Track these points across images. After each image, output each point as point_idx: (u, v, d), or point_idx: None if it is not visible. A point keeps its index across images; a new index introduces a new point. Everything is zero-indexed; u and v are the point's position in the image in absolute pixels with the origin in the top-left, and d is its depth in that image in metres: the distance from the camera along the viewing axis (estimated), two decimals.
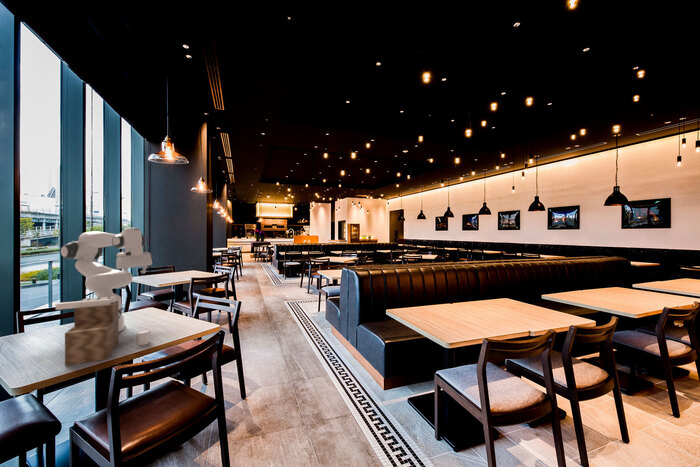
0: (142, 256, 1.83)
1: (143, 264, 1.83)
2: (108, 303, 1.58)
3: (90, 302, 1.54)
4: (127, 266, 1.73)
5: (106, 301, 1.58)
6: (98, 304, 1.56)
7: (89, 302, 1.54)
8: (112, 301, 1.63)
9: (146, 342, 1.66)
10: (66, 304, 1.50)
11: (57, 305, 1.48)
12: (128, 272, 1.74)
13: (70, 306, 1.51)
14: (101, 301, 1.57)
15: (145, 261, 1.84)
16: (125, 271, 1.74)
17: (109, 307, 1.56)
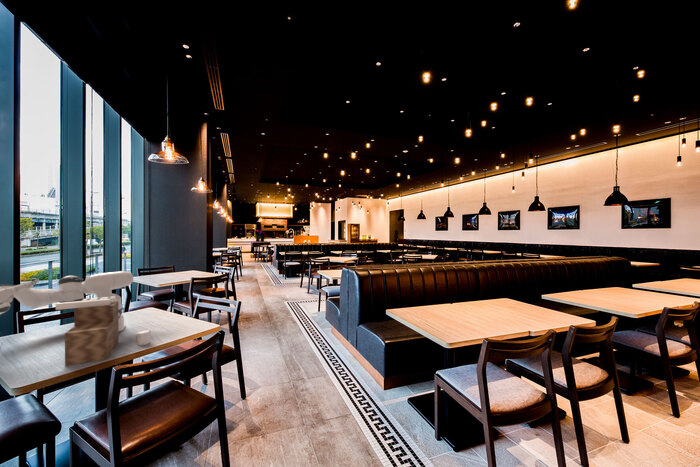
0: None
1: None
2: (108, 303, 1.58)
3: (90, 302, 1.54)
4: (11, 287, 1.45)
5: (106, 301, 1.58)
6: (98, 304, 1.56)
7: (89, 302, 1.54)
8: (112, 301, 1.63)
9: (146, 342, 1.66)
10: (66, 304, 1.50)
11: (57, 305, 1.48)
12: (22, 284, 1.48)
13: (70, 306, 1.51)
14: (101, 301, 1.57)
15: None
16: (21, 287, 1.47)
17: (109, 307, 1.56)
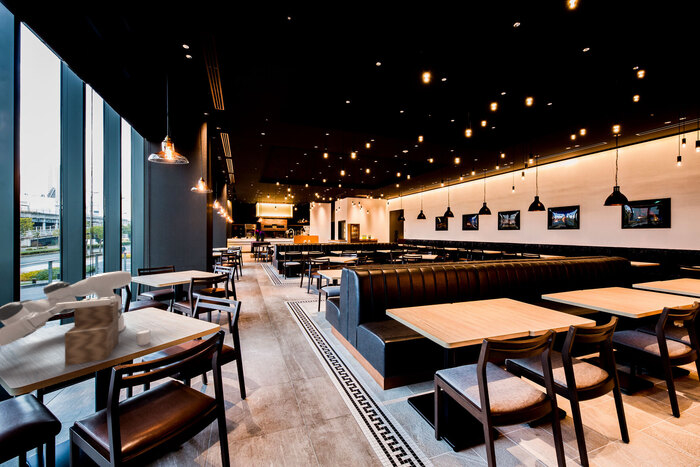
0: (42, 312, 1.49)
1: (54, 306, 1.52)
2: (108, 303, 1.58)
3: (90, 302, 1.54)
4: (46, 311, 1.43)
5: (106, 301, 1.58)
6: (98, 304, 1.56)
7: (89, 302, 1.54)
8: (112, 301, 1.63)
9: (146, 342, 1.66)
10: (66, 304, 1.50)
11: (57, 305, 1.48)
12: (59, 306, 1.48)
13: (70, 306, 1.51)
14: (101, 301, 1.57)
15: None
16: (57, 309, 1.47)
17: (109, 307, 1.56)
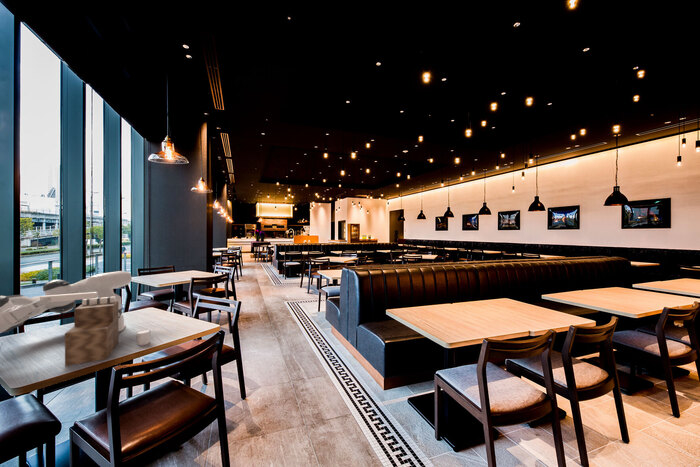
0: None
1: None
2: (94, 296, 1.55)
3: (76, 295, 1.51)
4: (29, 304, 1.40)
5: (92, 294, 1.54)
6: (83, 297, 1.53)
7: (75, 295, 1.51)
8: (112, 301, 1.63)
9: (146, 342, 1.66)
10: (51, 297, 1.47)
11: (41, 298, 1.45)
12: (43, 299, 1.44)
13: (55, 299, 1.47)
14: (87, 294, 1.53)
15: None
16: (41, 302, 1.43)
17: (109, 307, 1.56)
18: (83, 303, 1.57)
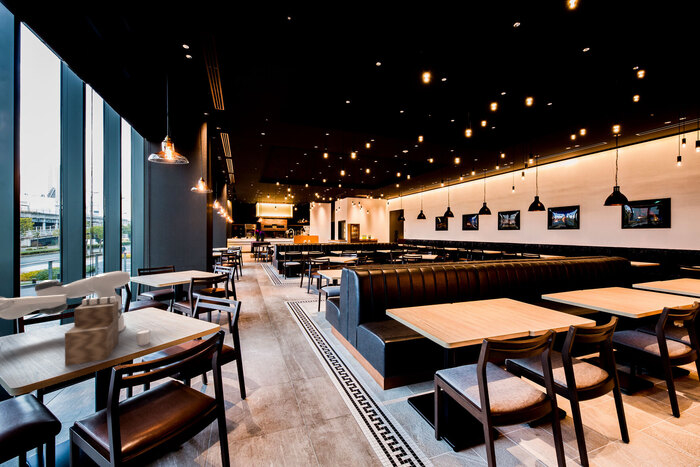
0: None
1: None
2: (62, 299, 1.47)
3: (42, 298, 1.43)
4: None
5: (60, 297, 1.46)
6: (50, 300, 1.45)
7: (41, 298, 1.43)
8: (112, 301, 1.63)
9: (146, 342, 1.66)
10: (14, 300, 1.39)
11: (4, 301, 1.37)
12: (6, 302, 1.37)
13: (20, 302, 1.40)
14: (54, 297, 1.45)
15: None
16: (4, 305, 1.36)
17: (109, 307, 1.56)
18: (83, 303, 1.57)
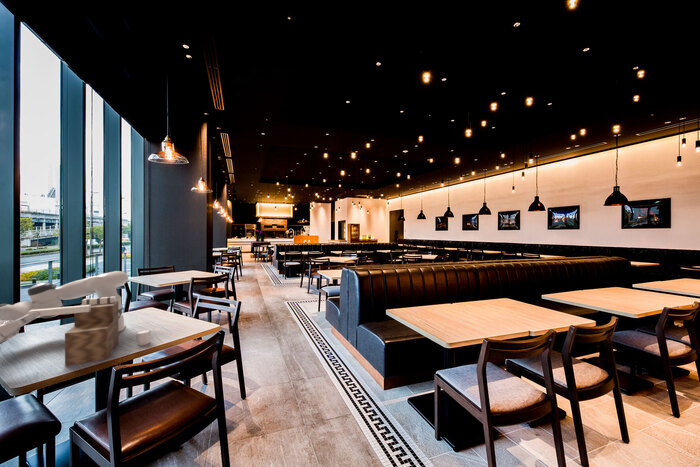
0: (14, 320, 1.37)
1: None
2: (87, 310, 1.46)
3: (67, 309, 1.42)
4: (17, 319, 1.31)
5: (85, 308, 1.45)
6: (75, 311, 1.44)
7: (66, 309, 1.42)
8: (112, 301, 1.63)
9: (146, 342, 1.66)
10: (40, 311, 1.38)
11: (30, 312, 1.36)
12: (32, 314, 1.35)
13: (45, 313, 1.38)
14: (79, 308, 1.44)
15: None
16: (30, 317, 1.34)
17: (109, 307, 1.56)
18: (83, 303, 1.57)
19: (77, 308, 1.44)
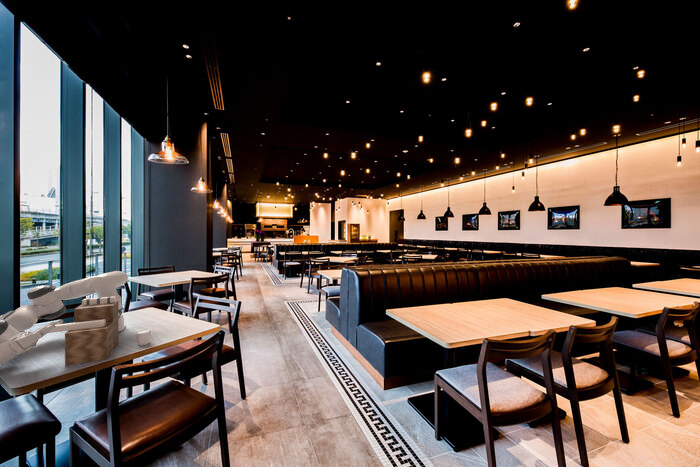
0: (33, 332, 1.41)
1: (45, 325, 1.43)
2: (102, 324, 1.49)
3: (83, 324, 1.46)
4: (36, 331, 1.34)
5: (100, 322, 1.49)
6: (91, 325, 1.47)
7: (82, 324, 1.45)
8: (112, 301, 1.63)
9: (146, 342, 1.66)
10: (57, 327, 1.41)
11: None
12: (48, 327, 1.37)
13: (62, 329, 1.42)
14: (95, 322, 1.48)
15: None
16: (46, 330, 1.36)
17: (109, 307, 1.56)
18: (83, 303, 1.57)
19: (93, 323, 1.47)
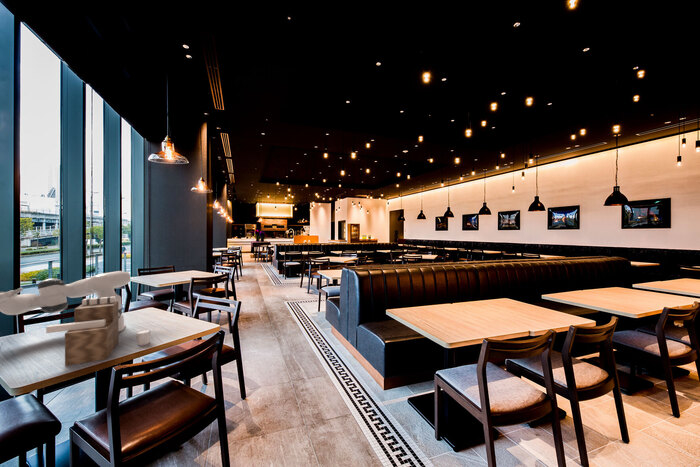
0: None
1: (4, 292, 1.42)
2: (102, 324, 1.49)
3: (83, 324, 1.46)
4: None
5: (100, 322, 1.49)
6: (91, 325, 1.47)
7: (82, 324, 1.45)
8: (112, 301, 1.63)
9: (146, 342, 1.66)
10: (57, 327, 1.41)
11: (48, 328, 1.39)
12: (4, 293, 1.36)
13: (62, 329, 1.42)
14: (95, 322, 1.48)
15: None
16: (2, 296, 1.35)
17: (109, 307, 1.56)
18: (83, 303, 1.57)
19: (93, 323, 1.47)
